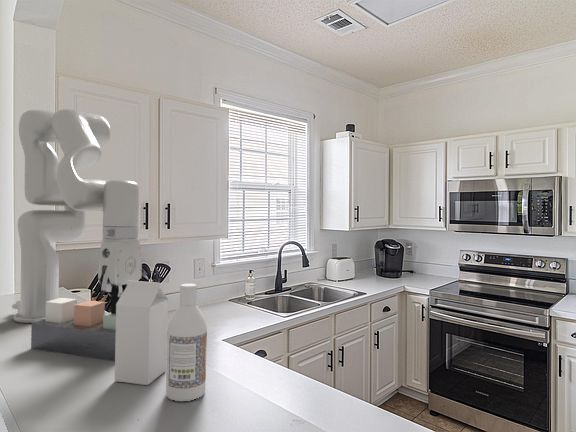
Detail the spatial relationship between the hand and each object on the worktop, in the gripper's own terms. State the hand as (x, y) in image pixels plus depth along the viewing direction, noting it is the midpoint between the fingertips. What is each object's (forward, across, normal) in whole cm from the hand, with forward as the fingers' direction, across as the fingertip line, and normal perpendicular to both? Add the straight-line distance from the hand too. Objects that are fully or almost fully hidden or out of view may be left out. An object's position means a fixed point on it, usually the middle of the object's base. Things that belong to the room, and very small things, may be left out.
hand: (118, 313), depth 92 cm
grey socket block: (+9, 0, +8) cm, 12 cm away
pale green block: (+6, 0, 0) cm, 6 cm away
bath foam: (+9, -14, -25) cm, 30 cm away
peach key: (+4, 0, +8) cm, 9 cm away
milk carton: (+9, -10, -13) cm, 19 cm away
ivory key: (+5, 0, +16) cm, 17 cm away
